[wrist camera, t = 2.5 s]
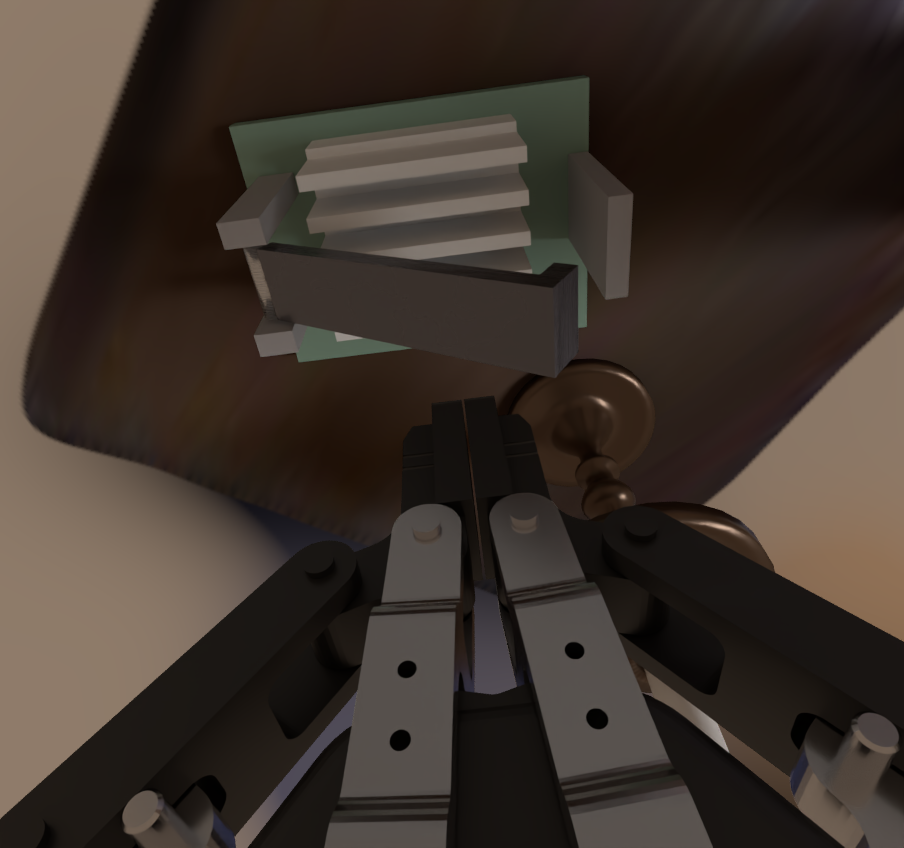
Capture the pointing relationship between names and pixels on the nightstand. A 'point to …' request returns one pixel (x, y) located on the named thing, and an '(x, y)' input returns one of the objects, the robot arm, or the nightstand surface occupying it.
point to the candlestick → (616, 469)
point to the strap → (425, 304)
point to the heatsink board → (434, 192)
